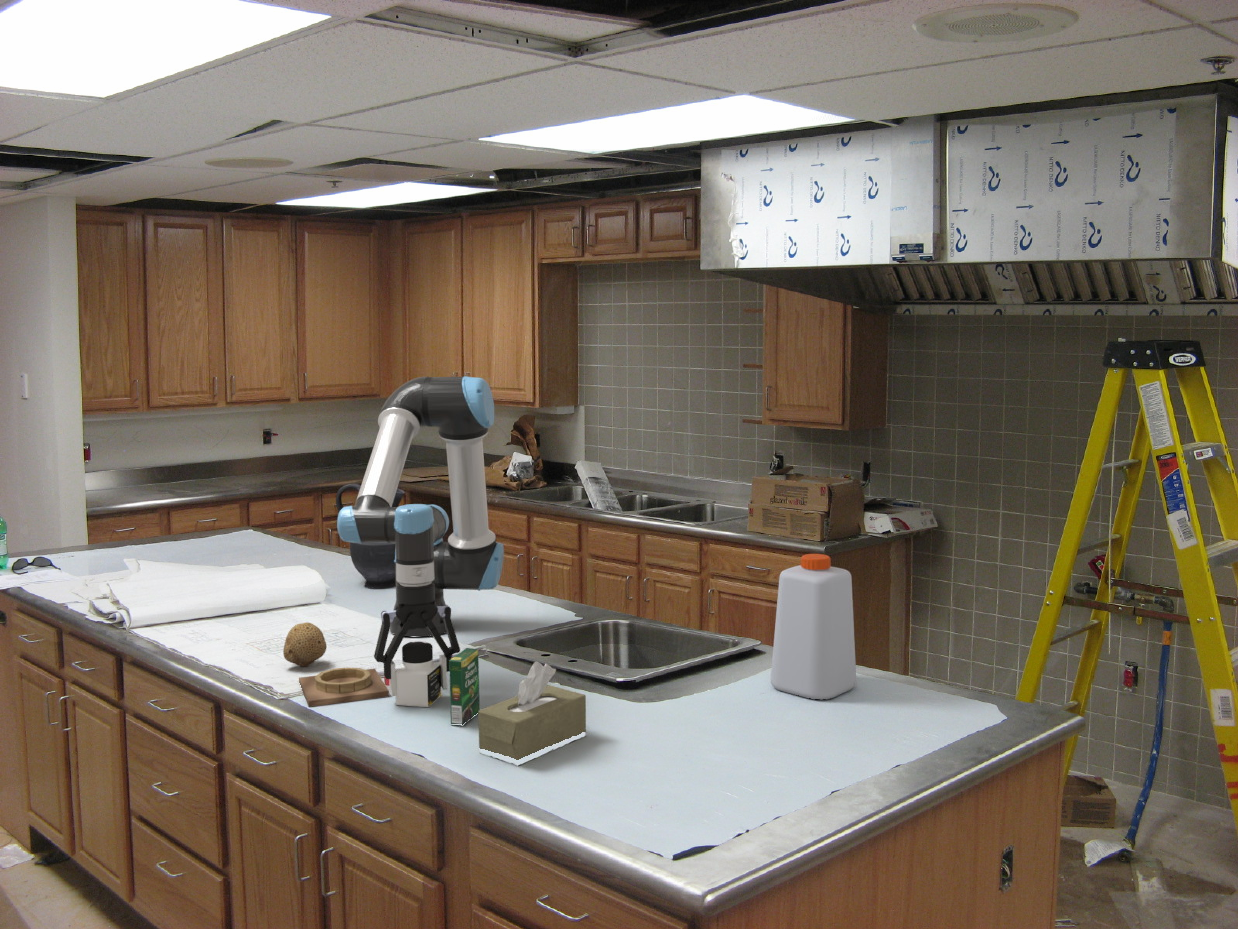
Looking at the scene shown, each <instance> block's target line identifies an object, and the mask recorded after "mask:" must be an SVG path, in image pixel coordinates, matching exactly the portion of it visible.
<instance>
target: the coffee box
mask: <svg viewBox="0 0 1238 929" xmlns="http://www.w3.org/2000/svg"><path fill="white" fill-rule="evenodd" d="M479 666H480V665H479V649H477V648H470V647H466V648H464V649H463V650H462V651H460V652H459V653H457V654H456V655H455V656H452V657H451V660H449V670H450V672H449V705H450V706H449V707H450V713H449V714H450V725H451V724H462V725H463V724H464V723H465V722H467V721H468V720H469V719H471V718H472V717H473V716H474V715H476V714H477V713H478V711H479V710H481V705H480V702H481V701H480V675H479V674H480V673H479V672H480V671H479V670H480V669H479V668H480V667H479ZM477 715H478V714H477ZM472 719H473V718H472ZM472 719H471V720H472Z"/></svg>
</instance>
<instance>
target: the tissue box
mask: <svg viewBox="0 0 1238 929" xmlns="http://www.w3.org/2000/svg"><path fill="white" fill-rule="evenodd" d="M556 671H557V668H554V667H552V666H550V665H549V664H548V663H545V664H544V665H543V664H542V663H541V662H539V661H537V660H536V661H534V662H533V664H532V665H531V667H530V669H529V672H528V674H527V677H525V678H524V679H522V681H520V682H519V687H518V692H517V695H516V696H513V697H511V698H508V699H506V700H503V701H500V702H498V703H495V704H492V705H489V706H487V707H484V708H482V709H481V708H480V710H479V711H478V714H477V716H478V749H479V748H480V749H485V750H488V751H491V752H494V753H499V754H502V755H504V756H509V757H511V758H514V759H516V760H519V759H521V758H523V757H525V756H528V755H530V754H532V753H535V752H537V751H539V750H541V749H544V748H545V747H548V746H552V745H553V744H556V743H559V742H561V741H563V740H565V739H569V738H571V737H572V736H577V735H579V734H581V733H582V732H586V733H587V711H586V710H587V708H586V706H587V702H586V701H587V699H586V697H587V696H586V694H583V693H580V692H577V691H572V690H569V689H565V688H561V687H557V686H554V685H551V684H548V683H549V682H550V681H551V679H552V678H553V676H554V675H555V674H556Z"/></svg>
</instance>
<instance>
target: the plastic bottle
mask: <svg viewBox="0 0 1238 929" xmlns="http://www.w3.org/2000/svg"><path fill="white" fill-rule="evenodd" d="M831 560H832V559H831V557H830V556H829V555H827V554H823V553H822V554H821V553H806V554H803V555H802V556H801V558H800V565H796V566H792V567H789V568H786V569H784V570H782V571H781V572H780V574H779V576H778V577H779V579H778V590H777V601H776V602H777V603H776V613H775V625H774V636H773V648H772V659H771V668H770V669H771V670H770V671H771V672H770V684H771V686H772V687H773V688H774V689H775V690H778V691H780V692H784V693H788V694H791V695H794V696H798V695H799V697H802V698H807V699H809V698H811V700H815V699H820V700H819V701H824V700H823V699H826V700H830V698H831V699H834V698H835V697H838V696H840V695H842V694H844V693H846V692H848V691H851V690H852V689H854V688H855V687H856V684H857V670H856V668H857V667H856V666H857V664H856V649H855V646H856V645H855V626H854V625H855V624H854V623H855V622H854V606H853V605H854V601H853V584H852V583H853V582H852V581H853V580H852V573H851V572H850V571H849V570H847V569H845V568H841V567H836V566H831V565H832V563H831Z"/></svg>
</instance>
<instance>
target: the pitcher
mask: <svg viewBox="0 0 1238 929" xmlns="http://www.w3.org/2000/svg"><path fill="white" fill-rule="evenodd" d="M360 488H361V485H360V484H357V483H349V484H344V485H343V486H342V487H340V488H339V489H338V491H336V492H337V493H336V495H335V506H336V509H337V513H338V514H339V512H340V510H341V509H342V508H343V507H344V506H343V501H342V495H343V493H344V492H346V491H347V490H349V489H353V490H356V491H357V492H358V493H359V491H360ZM404 496H405V491H404V490H403V489H400V488H398V487H397V490H396V494H395V497H394V500H393V504H392V507H399V505H400V503H401V501H402V500H403V498H404ZM395 548H396V545H395V543H353V542H349V553H350V557H351V558H350V560H351V561H352V564H353V566H354V569H355V570H356V571H357V572H358V573H359V574H360V575H361V576H362V577H363V578H364V580H366V581H365V582H364V588H366V589H370V590H371V589H372V590H383V589H384V590H385V589H390V588H394V587H395V588H396V577H395V562H394V560H395Z"/></svg>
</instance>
